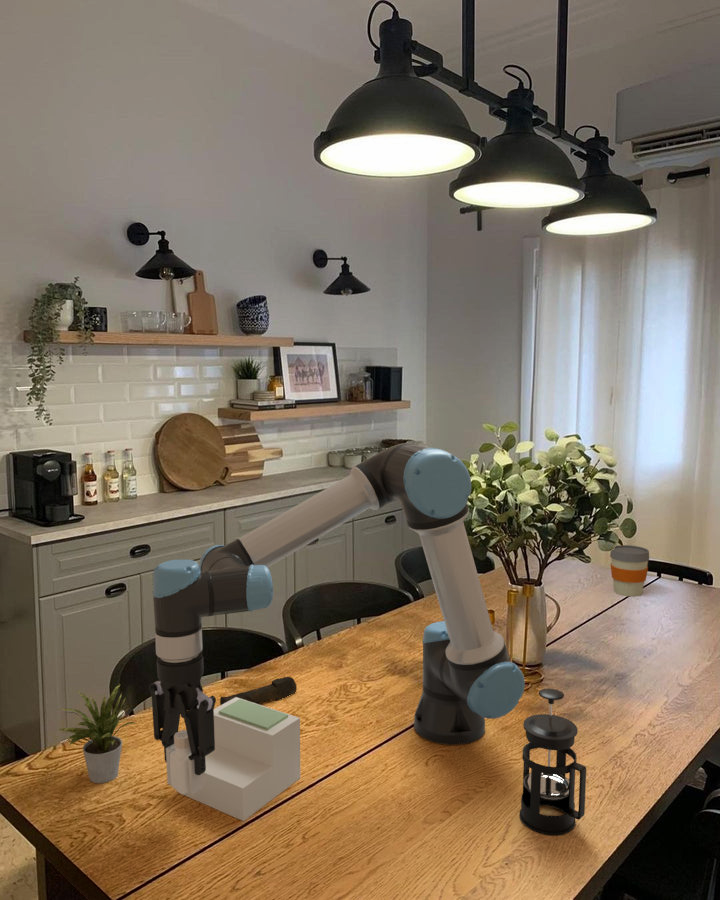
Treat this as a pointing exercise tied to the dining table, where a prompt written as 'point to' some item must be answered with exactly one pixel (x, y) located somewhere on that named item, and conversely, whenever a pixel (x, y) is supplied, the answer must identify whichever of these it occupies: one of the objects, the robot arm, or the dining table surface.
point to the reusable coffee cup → (629, 569)
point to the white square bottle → (180, 762)
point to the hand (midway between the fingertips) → (185, 785)
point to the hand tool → (266, 692)
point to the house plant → (100, 738)
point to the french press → (551, 772)
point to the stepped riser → (249, 758)
